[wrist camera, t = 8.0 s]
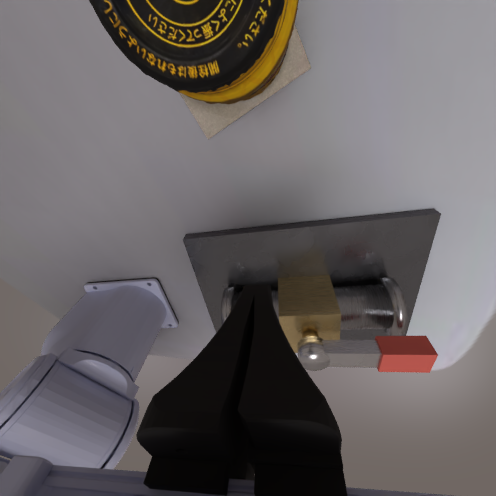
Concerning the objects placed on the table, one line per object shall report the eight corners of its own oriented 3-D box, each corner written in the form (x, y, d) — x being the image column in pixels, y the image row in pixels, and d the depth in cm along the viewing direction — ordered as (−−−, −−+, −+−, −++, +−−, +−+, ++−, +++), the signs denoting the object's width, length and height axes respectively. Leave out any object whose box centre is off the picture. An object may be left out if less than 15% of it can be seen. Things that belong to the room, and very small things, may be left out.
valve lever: (297, 353, 21) (298, 370, 19) (296, 335, 19) (298, 353, 18) (418, 353, 19) (429, 373, 18) (426, 335, 18) (438, 354, 17)
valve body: (221, 337, 32) (210, 392, 26) (186, 234, 23) (156, 280, 18) (400, 333, 28) (433, 395, 22) (433, 208, 20) (501, 256, 14)
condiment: (310, 68, 16) (376, 19, 6) (208, 139, 19) (130, 190, 8) (255, -80, 12) (177, -787, 2) (143, 34, 15) (-100, -79, 5)
